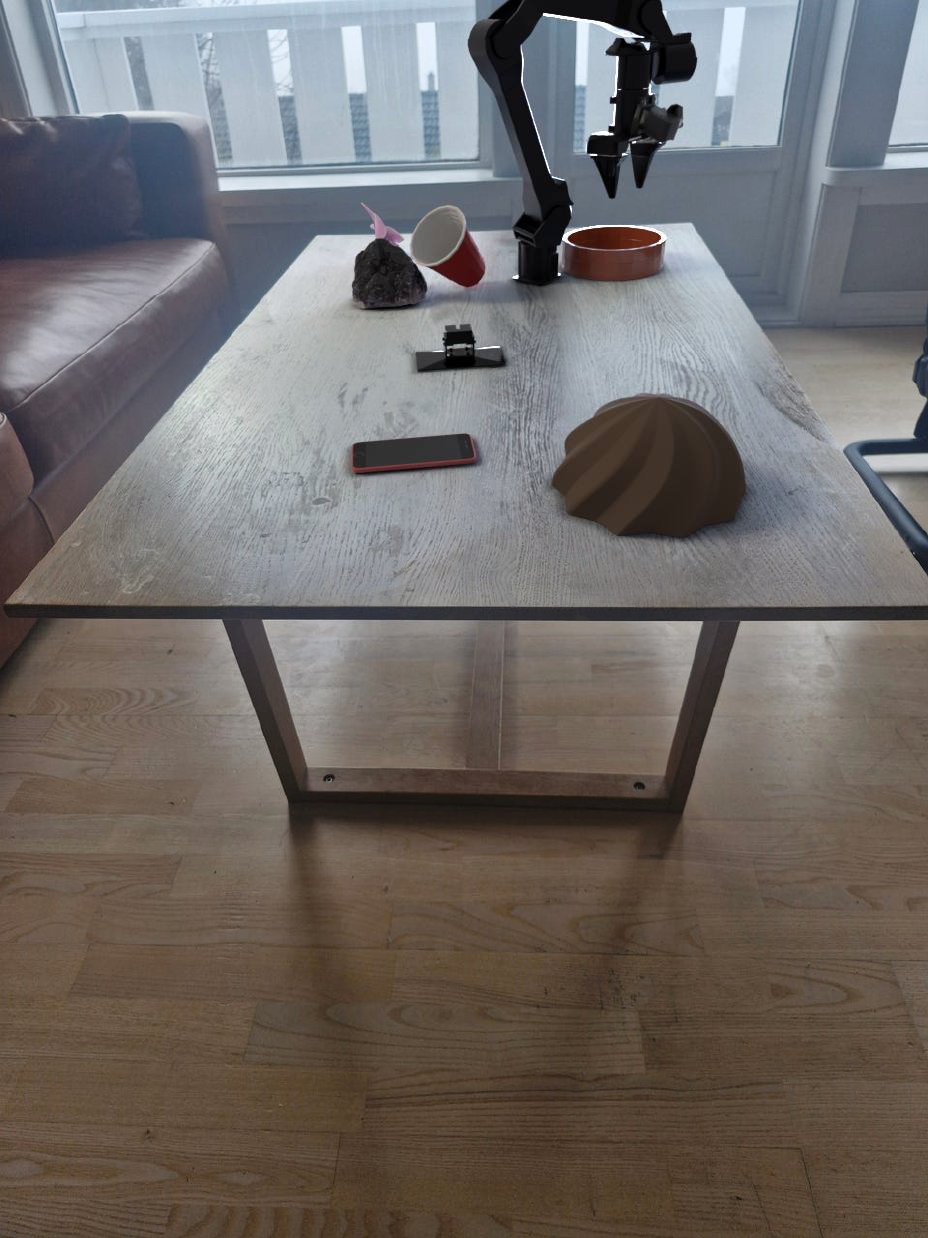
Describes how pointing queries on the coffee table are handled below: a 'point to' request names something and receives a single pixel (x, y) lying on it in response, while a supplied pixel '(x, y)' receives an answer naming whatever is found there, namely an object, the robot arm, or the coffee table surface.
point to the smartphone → (412, 453)
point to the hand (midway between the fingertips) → (626, 193)
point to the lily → (384, 229)
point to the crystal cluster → (386, 277)
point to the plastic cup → (447, 246)
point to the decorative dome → (651, 467)
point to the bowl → (613, 252)
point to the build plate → (459, 353)
